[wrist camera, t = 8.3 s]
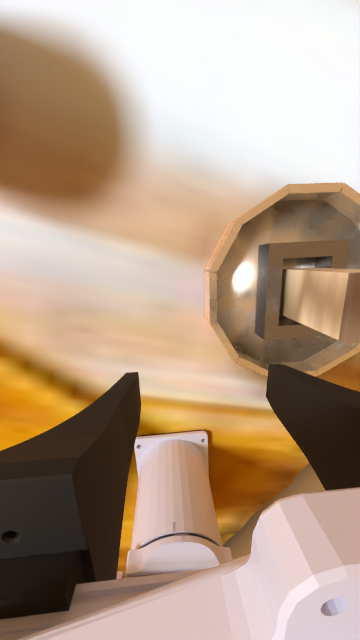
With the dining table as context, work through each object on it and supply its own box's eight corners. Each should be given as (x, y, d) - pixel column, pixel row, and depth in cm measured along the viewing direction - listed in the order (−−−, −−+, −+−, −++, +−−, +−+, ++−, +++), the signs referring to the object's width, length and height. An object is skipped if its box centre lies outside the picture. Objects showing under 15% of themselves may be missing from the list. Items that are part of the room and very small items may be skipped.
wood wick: (301, 310, 20) (385, 340, 13) (276, 312, 20) (345, 343, 12) (306, 267, 19) (400, 270, 12) (279, 268, 19) (356, 273, 11)
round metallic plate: (354, 359, 23) (377, 371, 20) (205, 371, 22) (210, 385, 19) (384, 190, 19) (417, 180, 16) (202, 197, 18) (208, 187, 15)
